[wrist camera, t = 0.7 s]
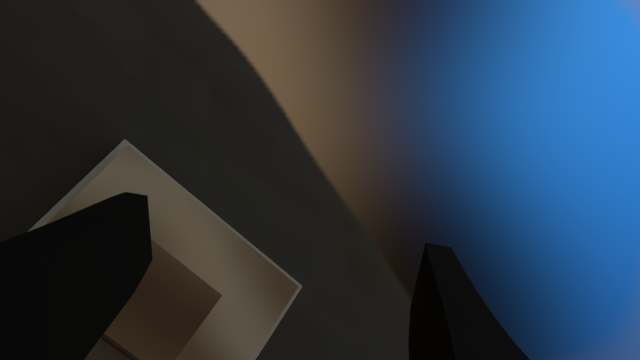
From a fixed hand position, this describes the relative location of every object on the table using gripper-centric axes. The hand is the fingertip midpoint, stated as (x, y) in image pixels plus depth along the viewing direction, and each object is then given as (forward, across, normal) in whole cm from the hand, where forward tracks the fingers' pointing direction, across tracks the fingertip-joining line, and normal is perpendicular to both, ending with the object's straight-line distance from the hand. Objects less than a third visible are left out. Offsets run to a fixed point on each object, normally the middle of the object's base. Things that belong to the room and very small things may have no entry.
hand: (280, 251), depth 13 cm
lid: (+7, +8, +11) cm, 15 cm away
